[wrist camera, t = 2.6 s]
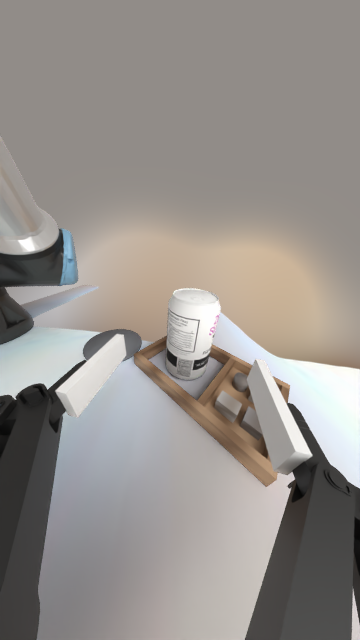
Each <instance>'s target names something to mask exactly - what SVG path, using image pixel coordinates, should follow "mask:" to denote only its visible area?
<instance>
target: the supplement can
mask: <svg viewBox="0 0 360 640" xmlns="http://www.w3.org/2000/svg"><path fill="white" fill-rule="evenodd" d="M218 299H219V298H218V297H217V295H215V294H214V293H211V292H209V291H205V290H201V289H192V288H189V289H188V288H185V289H178V290H176V291H174V292H173V295H172V297H171V298H170V300H169V304H168V325H167V347H166V366H167V369H168V371H169V372H170V373H171V374H172V375H173V376H175V377H177V378H179V379H184V380H193V379H197V378H199V377H201V376H202V375H203V374H204V372H205V370H206V366H207V362H208V358H209V354H210V350H211V346H212V342H213V338H214V334H215V330H216V326H217V322H218V318H219V314H220V309H221V307H220V304H219V301H218Z"/></svg>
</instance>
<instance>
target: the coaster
mask: <svg viewBox="0 0 360 640" xmlns="http://www.w3.org/2000/svg"><path fill="white" fill-rule="evenodd" d="M116 334H121V335H124V341H125V348H126V356H125V358H124V359H123V360H122V361H125V360H127V359H129V358H131V357H132V356H133V355H134V354H135V353H137V352H138V351H139V349H140V347H141V344H142V342H141V337H140V336H139V335H138V334H137V333H135V332H133V331H131V330H125V329H116V330H110V331H106V332H103V333H100V334H98V335H96V336H94V337H93V338H91V339H90V340H89V341H88V342H87V343H86V345H85V346H84V349H83V354H84V357H85V358H86V359H87V360H89V359H90V358H91V357H92V356H93V355H94V354H96V353H97V352H98V351H99V350H100V349H101V348H102V347H103V346H104V345H105V344H106V343H107V342H109V341H110V340H111V339H112V338H113V337H114V336H115V335H116Z"/></svg>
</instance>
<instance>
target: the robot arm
mask: <svg viewBox="0 0 360 640" xmlns="http://www.w3.org/2000/svg"><path fill="white" fill-rule="evenodd" d="M77 281H78V270H77V261H76V255H75V248H74V242H73V237H72V235H71V232H69V231H68V230H64V229H62V228H61V229H59V228H58V226H57V224H56V222H55V220H54V219H53V218H52V217H51V216H50V215H49V214H48V213H47V212H45V211H44V210H42V209H40V208H38V207H37V205H36V203H35V201H34V199H33V197H32V195H31V193H30V192H29V190H28V188H27V186H26V184H25V182H24V180H23V178H22V176H21V174H20V172H19V170H18V168H17V166H16V164H15V163H14V161H13V159H12V157H11V155H10V153H9V151H8V149H7V147H6V145H5V143H4V141H3V139H2V138H1V135H0V344H2V343H5V342H8V341H10V340H12V339H15V338H17V337H19V336H21V335H22V334H24V333H26V332H27V331H29V330H30V329H31V328H32V327H33V325H34V321H33V319H32V317H31V315H30V314H29V313H28V312H27V311H26V310H25V309H23V308H22V307H21V306H20V305H19V304H18V303H17V302H16V301H15V300H13V299H12V298H11V297H10V296H9V294H8V293H7V291H6V289H5V287H17V286H18V287H19V286H62V285H70V284H75V283H76V282H77ZM125 356H126V348H125V341H124V335H121V334H116V335H115V336H114V337H113V338H112V339H111V340H110V341H109V342H107V343H106V344H105V345H104V346H103V347H102V348H101V349H100V350H99V351H98V352H97V353H96V354H94V355H93V356H92V357H91V358H90V359H89V360H88V361H86V360H83V361H82V362H80V363H78V364H77V365H75V366H74V367H73V368H72V369H71V370H70V371H69V372H67V374H65V375H64V376H63V377H62V378H61V379H59V380H58V381H57V382H56V383H55V384H54V385H53V386H51V387H50V388H49V389H48V390H47V388H46V387H45V385H44V384H40V383H39V384H34V385H31V386H28V387H27V388H25V389H23V390H22V391H21V392H20V393H18V395H17V396H16V397H15V398H16V400H14V398H13V397H12V396H10V395H4V396H0V640H36V639H37V632H38V624H39V614H40V602H39V596H38V583H39V576H40V569H41V563H42V556H43V549H44V542H45V535H46V529H47V522H48V515H49V508H50V502H51V495H52V488H53V481H54V475H55V468H56V461H57V454H58V447H59V441H60V434H61V427H62V420H63V413H64V412H65V411H66V412H67V413H68V415H70V416H73V417H77V418H78V417H79V416H80V414H81V413H82V412H83V411H84V409H85V408H86V407H87V405H88V404H89V403H90V402H91V400H92V399H93V398H94V396H95V395H96V394H97V392H98V391H99V390H100V389H101V387H102V386H103V385H104V383H105V382H106V381H107V380H108V378H109V377H110V376H111V374H112V373H113V372H114V371H115V369H116V368H117V367H118V365H119V364H120V363H121V362H122V360H123V359H124V358H125ZM247 382H248V385H249V389H250V392H251V396H252V399H253V402H254V406H255V409H256V413H257V416H258V419H259V423H260V426H261V430H262V433H263V437H264V440H265V443H266V447H267V450H268V454H269V457H270V460H271V464H272V467H273V471H274V472H278V473H282V474H285V475H288V474H290V473H291V472H293V474H294V477H295V480H294V481H292V482H291V483H290V484H289V485H288V486H287V487H288V488H289V489H290V488H291V487H292V488H291V492H290V495H289V498H288V501H287V505H286V508H285V511H284V514H283V518H282V521H281V524H280V527H279V531H278V534H277V537H276V540H275V544H274V547H273V550H272V553H271V557H270V560H269V563H268V566H267V569H266V573H265V576H264V579H263V582H262V586H261V589H260V592H259V595H258V599H257V602H256V605H255V608H254V612H253V615H252V618H251V621H250V625H249V628H248V631H247V634H246V638H245V640H351V634H352V595H353V589H354V595H355V601H356V606H357V612H358V617H359V623H360V489H359V488H358V487H356V486H354V485H352V484H351V483H349V482H348V481H347V480H346V478H345V477H344V476H343V475H342V474H341V473H340V472H339V471H338V470H337V469H336V468H334V467H333V466H331V465H330V463H329V462H328V460H327V458H326V457H325V455H324V453H323V451H322V450H321V448H320V446H319V444H318V443H317V441H316V439H315V437H314V435H313V434H312V432H311V430H310V428H309V427H308V425H307V423H306V422H305V419H304V418H303V416H302V414H301V412H300V411H299V410H298V409H297V408H296V407H295V406H294V405H293V404H290V403H286V402H285V400H284V398H283V396H282V394H281V392H280V390H279V388H278V386H277V384H276V382H275V380H274V378H273V376H272V374H271V372H270V370H269V368H268V366H267V364H266V362H265V360H260V359H255V362H254V364H253V366H252V368H251V370H250V373H249V375H248V377H247Z"/></svg>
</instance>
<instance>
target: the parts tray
mask: <svg viewBox="0 0 360 640" xmlns="http://www.w3.org/2000/svg"><path fill="white" fill-rule="evenodd" d="M166 347H167V336H166V337H164V338H162V339H160V340H158V341H157V342H155V343H153V344H151V345H149V346H147V347H146V348H144V349H142V350H140V351H139V352H137V353H135V354H134V362H135V364H136V365H137V366H138V367H139V368H140V369H141V370H142V371H143V372H144V373H145V374H146V375H147V376H148V377H149V378H151V379H152V380H153V381H154V382H155V383H156V384H157V385H158V386H159V387H160V388H161V389H162V390H163V391H164V392H166V393H167V394H168V395H169V396H170V397H171V398H172V399H173V400H174V401H175V402H176V403H177V404H178V405H179V406H180V407H182V408H183V409H184V410H185V411H186V412H187V413H188V414H189V415H190V416H191V417H192V418H193V419H194V420H195V421H197V422H198V423H199V424H200V425H201V426H202V427H203V428H204V429H205V430H206V431H207V432H208V433H209V434H210V435H211V436H213V437H214V438H215V439H216V440H217V441H218V442H219V443H220V444H221V445H222V446H223V447H224V448H225V449H226V450H228V451H229V452H230V453H231V454H232V455H233V456H234V457H235V458H236V459H237V460H238V461H239V462H240V463H241V464H242V465H244V466H245V467H246V468H247V469H248V470H249V471H250V472H251V473H252V474H253V475H254V476H255V477H256V478H257V479H259V480H260V481H261V482H262V483H263V484H264V485H265V486H266V487H267V486H269V485H270V484H271V483H273V482H274V481H275V480H277V473H278V472H274V471H273V467H272V464H271V460H270V457H269V454H268V450H267V447H266V443H265V440H264V437H263V433H262V430H261V426H260V423H259V419H258V416H257V413H256V409H255V406H254V402H253V399H252V396H251V392H250V389H249V385H248V382H247V377H248V375H249V373H250V370H251V368H252V365H250V364H249V363H247V362H245V361H243V360H241V359H239V358H237V357H235V356H233V355H231V354H230V353H228V352H226V351H224V350H222V349H220V348H218V347H216V346H214V345H212V346H211V350H210V354H209V356H211V357H212V358H214V359H216V360H218V361H219V362H221V363H223V364H224V367H223V368H222V369H221V370H220V372H219V373H218V374H217V376H216V377H215V378H214V379H213V381H212V382H211V383H210V385H209V386H208V387H207V389H206V390H205V391H204V392H203V394H202V395H201V396H200V398H199V399H198V400H195V399H194V398H193V397H192V396H191V395H189V394H188V393H187V392H186V391H185V390H183V389H182V388H181V387H180V386H179V385H177V384H176V383H175V382H174V381H173V380H171V379H170V378H169V377H168V376H167V375H165V374H164V373H163V372H162V371H161V370H159V369H158V368H157V367H156V366H155V365H154V364H152V363H151V362H150V361H149V360H148V359H150V358H151V357H153V356H155V355H156V354H158V353H159V352H161V351H162V350H164V349H165V348H166ZM273 378H274V380H275V382H276V384H277V386H278V388H279V390H280V392H281V394H282V396H283V398H284V400H285V402H286V403H288V397H289V390H290V385H288V384H287V383H285V382H283V381H281V380H279V379H277V378H275V377H273Z"/></svg>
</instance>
